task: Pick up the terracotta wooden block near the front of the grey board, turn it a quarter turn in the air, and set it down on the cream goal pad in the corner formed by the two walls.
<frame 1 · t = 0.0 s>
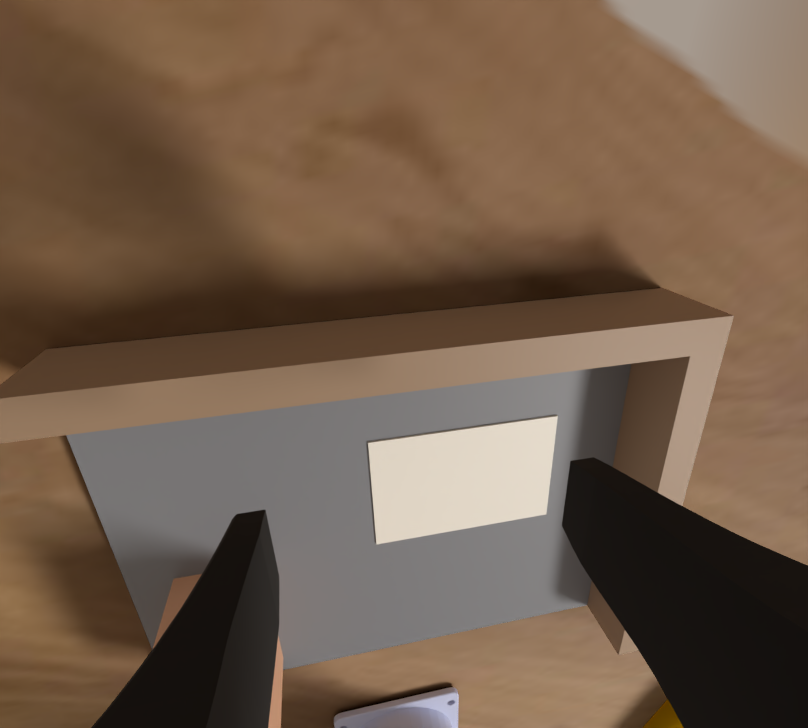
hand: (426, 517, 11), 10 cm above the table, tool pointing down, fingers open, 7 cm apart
arena: (382, 514, 24), on the table
block: (232, 621, 24), point 1 cm above the table, touching arena
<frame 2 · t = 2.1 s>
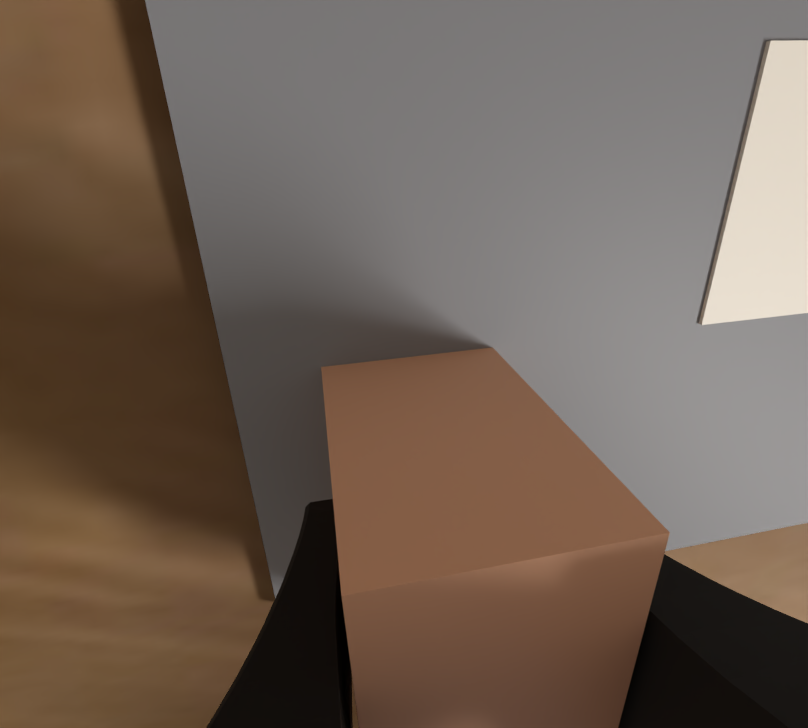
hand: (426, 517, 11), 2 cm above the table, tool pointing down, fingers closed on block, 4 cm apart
arena: (701, 275, 12), on the table
block: (413, 479, 12), point 1 cm above the table, touching arena, gripper
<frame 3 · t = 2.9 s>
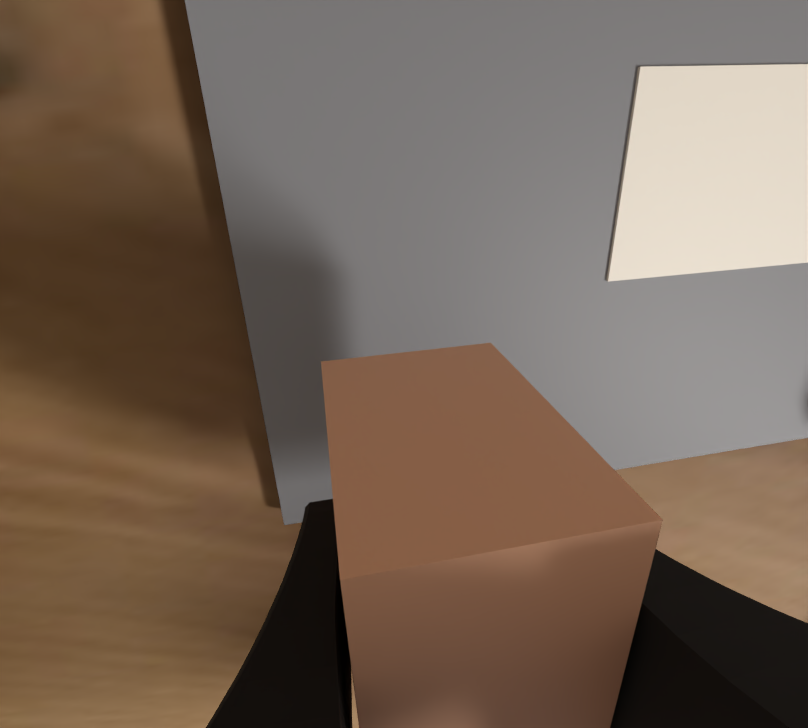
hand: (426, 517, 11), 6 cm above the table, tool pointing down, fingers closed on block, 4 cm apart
arena: (610, 244, 16), on the table
block: (412, 474, 12), point 5 cm above the table, touching gripper
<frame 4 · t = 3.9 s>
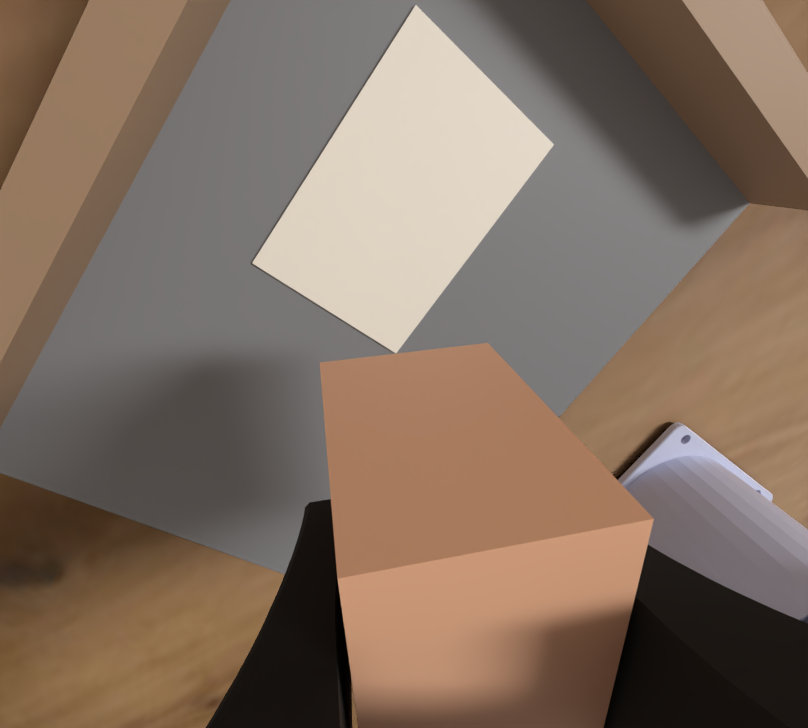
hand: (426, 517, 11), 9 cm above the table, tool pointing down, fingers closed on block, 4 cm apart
arena: (379, 321, 18), on the table
block: (411, 473, 13), point 7 cm above the table, touching gripper
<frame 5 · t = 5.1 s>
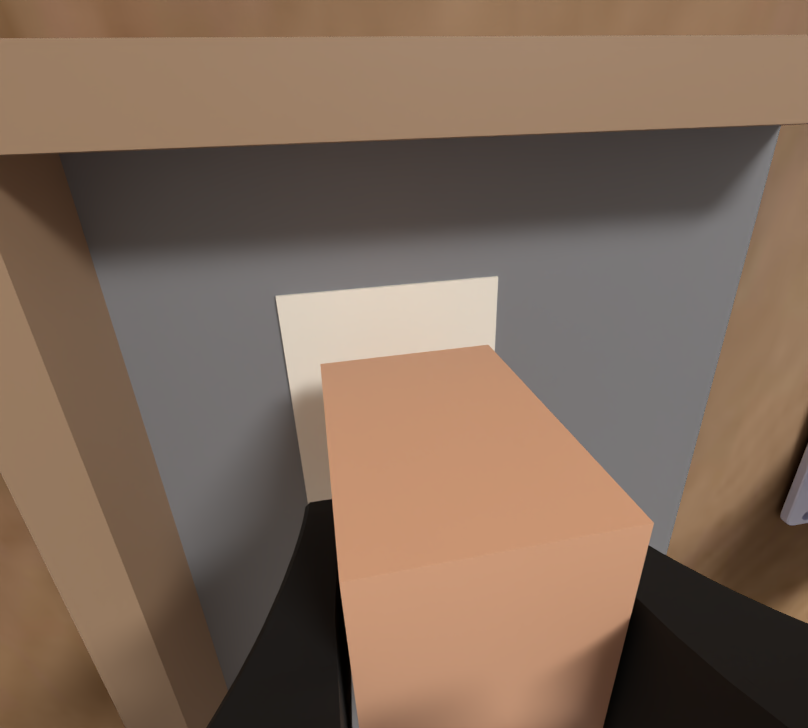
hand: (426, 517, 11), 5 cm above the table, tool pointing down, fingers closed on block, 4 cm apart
arena: (452, 502, 17), on the table
block: (411, 474, 13), point 3 cm above the table, touching gripper
when the fingers open (3 cm above the table, at t = 5.8 s): block stays where it is, resting on arena.
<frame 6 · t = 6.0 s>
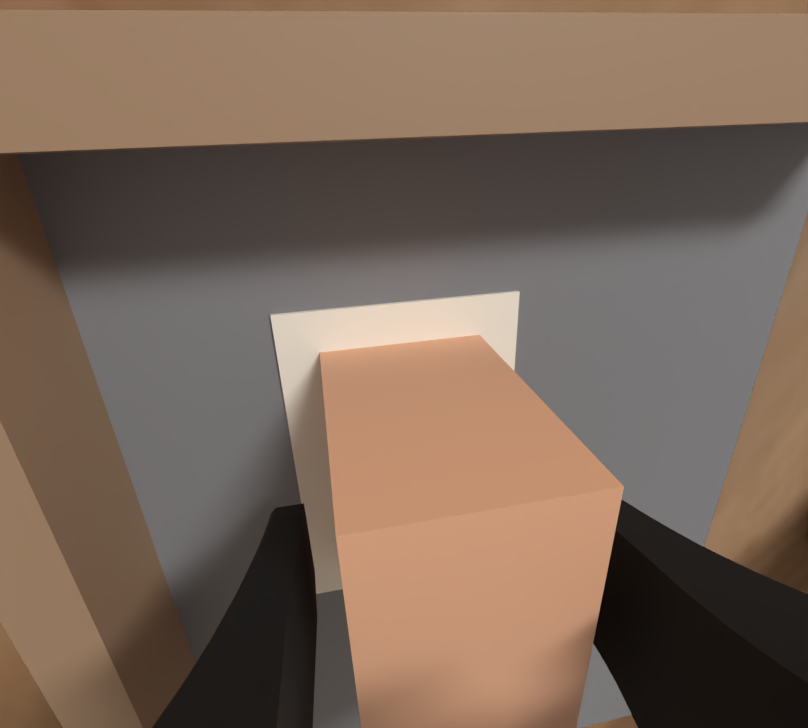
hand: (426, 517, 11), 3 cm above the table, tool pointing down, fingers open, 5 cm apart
arena: (463, 532, 16), on the table
block: (406, 460, 13), point 1 cm above the table, touching arena
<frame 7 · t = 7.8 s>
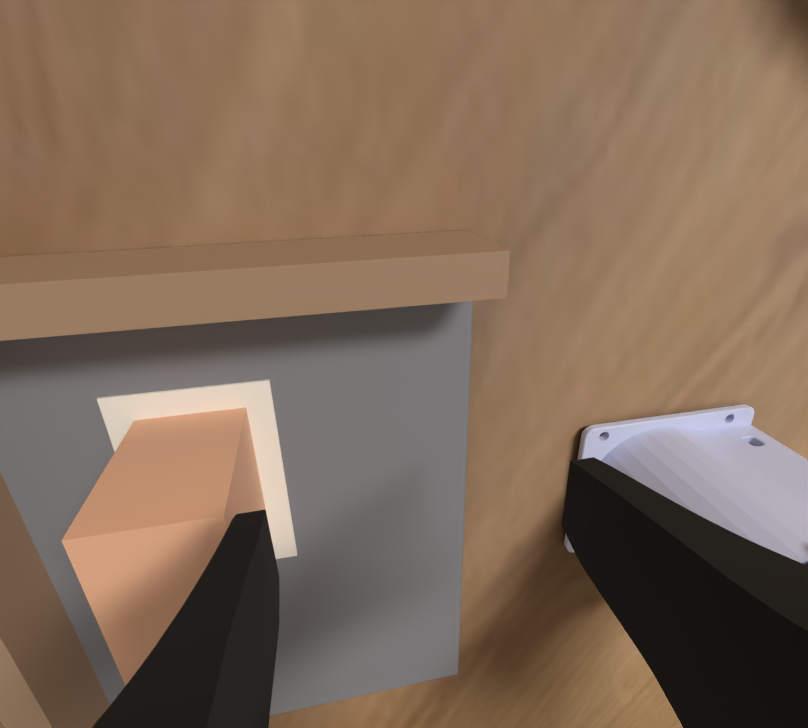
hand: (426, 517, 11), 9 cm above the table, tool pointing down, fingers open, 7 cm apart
arena: (274, 536, 22), on the table
block: (209, 487, 19), point 1 cm above the table, touching arena
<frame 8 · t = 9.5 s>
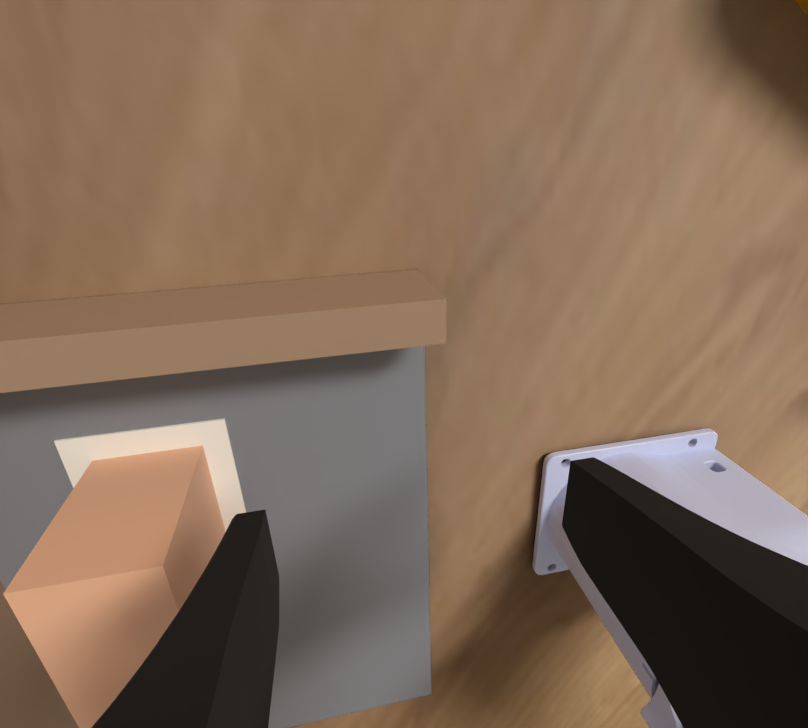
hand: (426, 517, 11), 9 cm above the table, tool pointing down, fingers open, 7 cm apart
arena: (240, 565, 23), on the table
block: (170, 522, 20), point 1 cm above the table, touching arena
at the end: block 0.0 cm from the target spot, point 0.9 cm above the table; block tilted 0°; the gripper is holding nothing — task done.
